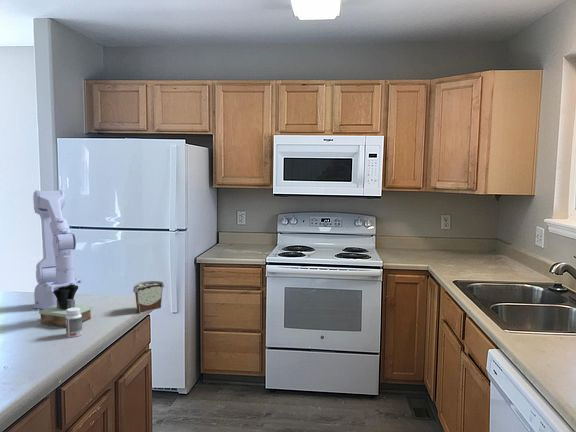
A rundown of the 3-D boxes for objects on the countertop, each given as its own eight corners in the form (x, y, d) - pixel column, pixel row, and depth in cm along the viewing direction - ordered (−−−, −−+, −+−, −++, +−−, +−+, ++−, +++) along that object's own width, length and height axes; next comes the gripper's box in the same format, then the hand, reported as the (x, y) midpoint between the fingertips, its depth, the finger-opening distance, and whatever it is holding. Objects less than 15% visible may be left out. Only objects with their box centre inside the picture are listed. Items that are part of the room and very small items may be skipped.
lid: (39, 313, 162) (38, 301, 162) (62, 305, 172) (62, 293, 172) (69, 317, 158) (69, 305, 158) (91, 309, 168) (91, 297, 168)
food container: (154, 304, 188) (154, 279, 187) (164, 307, 184) (164, 281, 183) (126, 311, 179) (126, 284, 178) (136, 314, 175) (135, 287, 174)
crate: (40, 323, 163) (40, 313, 162) (62, 315, 172) (62, 305, 172) (70, 327, 159) (69, 317, 159) (90, 318, 169) (90, 309, 168)
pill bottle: (85, 333, 154) (85, 307, 153) (75, 338, 150) (74, 311, 149) (73, 331, 155) (72, 306, 155) (62, 336, 151) (62, 310, 150)
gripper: (58, 273, 156) (59, 314, 157) (89, 265, 170) (90, 303, 171) (41, 272, 158) (42, 312, 159) (72, 264, 172) (73, 301, 173)
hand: (65, 307), depth 165 cm, fingers closed on lid, 2 cm apart
